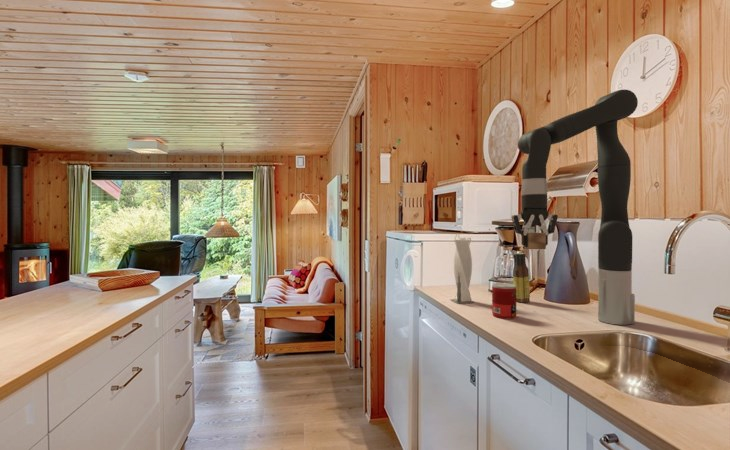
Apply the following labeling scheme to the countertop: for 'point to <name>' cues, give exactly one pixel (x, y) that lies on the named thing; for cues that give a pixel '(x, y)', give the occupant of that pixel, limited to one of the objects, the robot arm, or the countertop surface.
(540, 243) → the walnut cube
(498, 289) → the canned food
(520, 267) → the sauce bottle
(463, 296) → the skyscraper
